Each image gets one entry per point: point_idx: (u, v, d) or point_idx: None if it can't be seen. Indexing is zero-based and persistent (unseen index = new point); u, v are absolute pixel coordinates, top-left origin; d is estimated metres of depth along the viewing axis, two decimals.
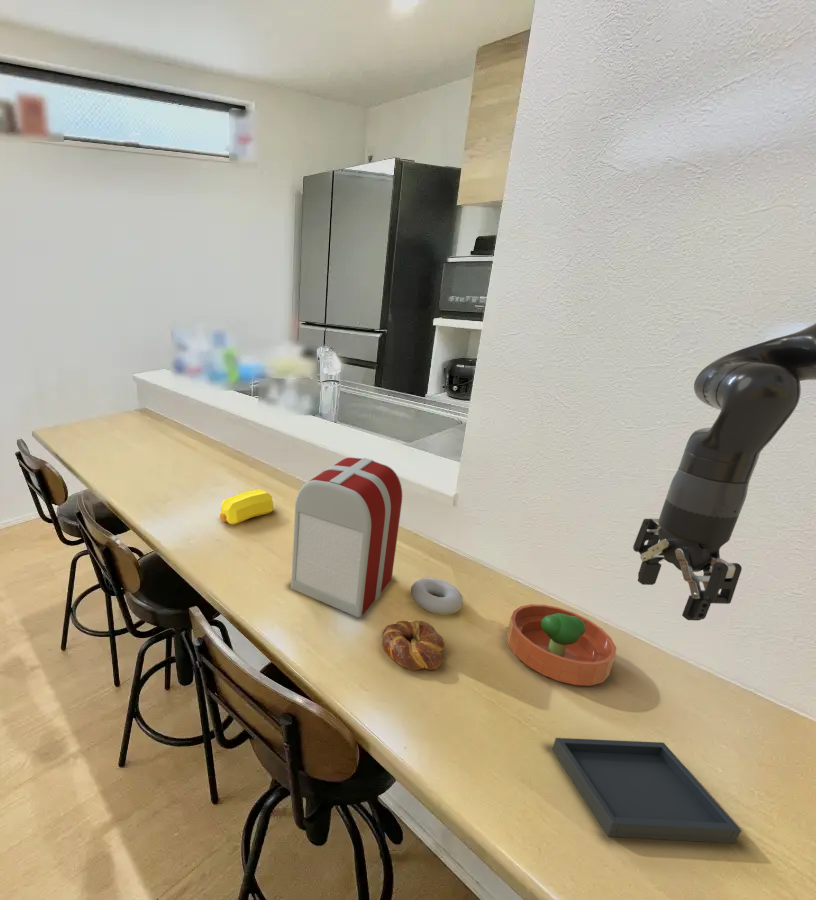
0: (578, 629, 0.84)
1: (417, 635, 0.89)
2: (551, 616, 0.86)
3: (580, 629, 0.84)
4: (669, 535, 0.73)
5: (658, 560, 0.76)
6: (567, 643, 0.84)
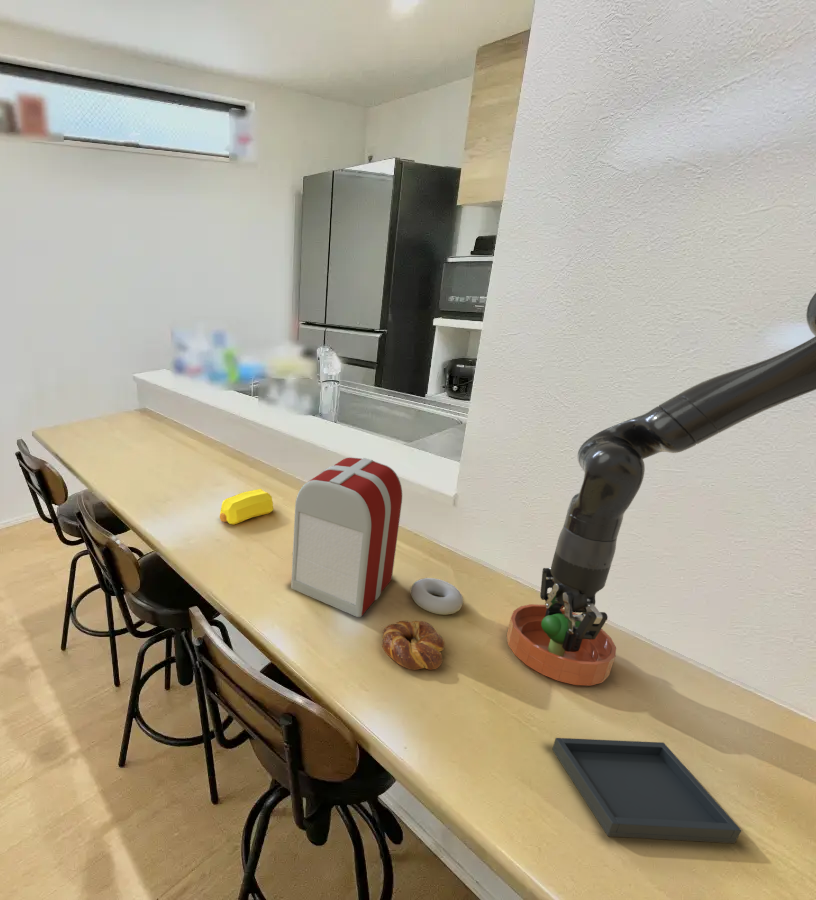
0: None
1: (417, 635, 0.89)
2: (551, 616, 0.86)
3: None
4: None
5: (559, 608, 0.88)
6: None
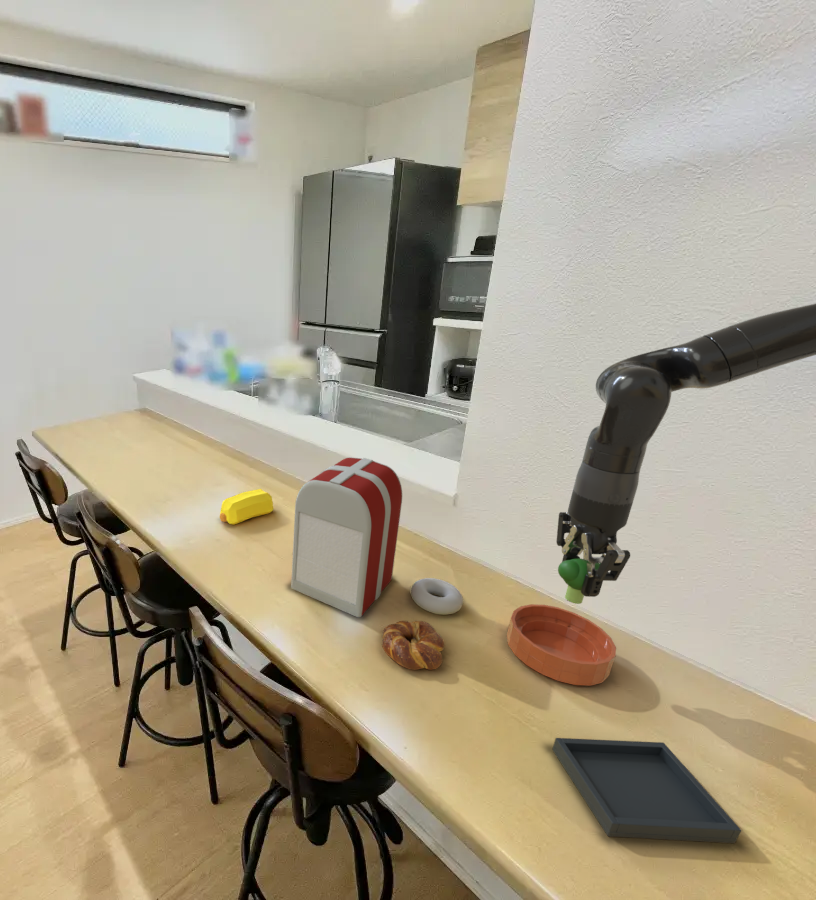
0: None
1: (417, 635, 0.89)
2: (569, 561, 0.81)
3: None
4: (578, 522, 0.80)
5: (576, 553, 0.83)
6: None
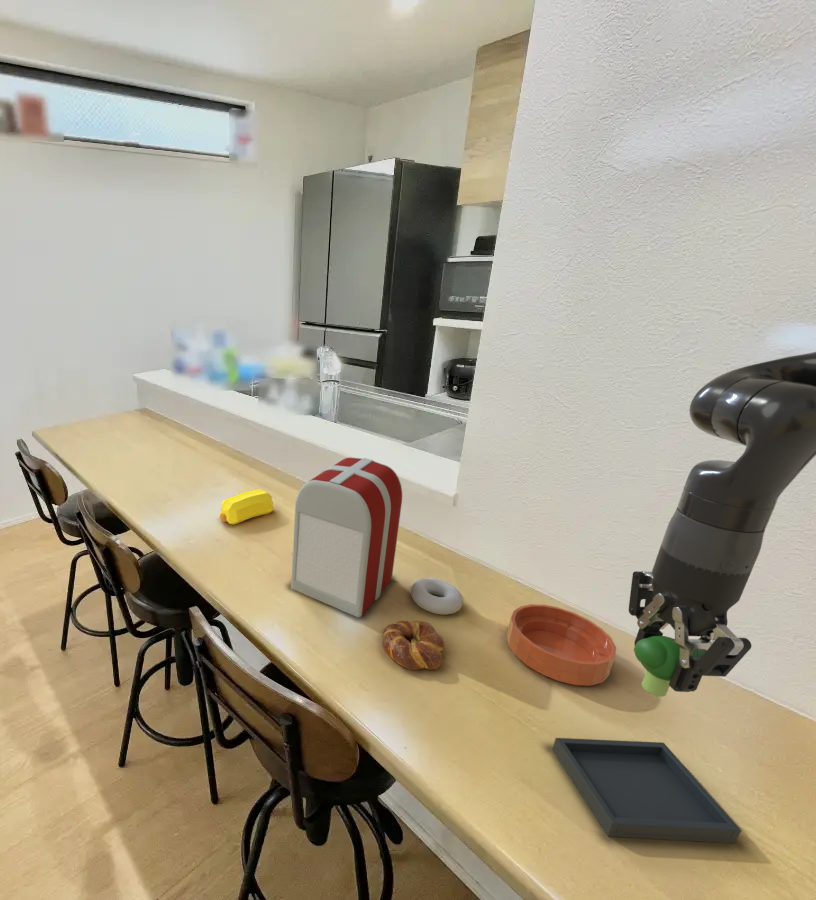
0: None
1: (417, 635, 0.89)
2: (650, 640, 0.60)
3: None
4: (665, 589, 0.60)
5: (658, 627, 0.62)
6: None
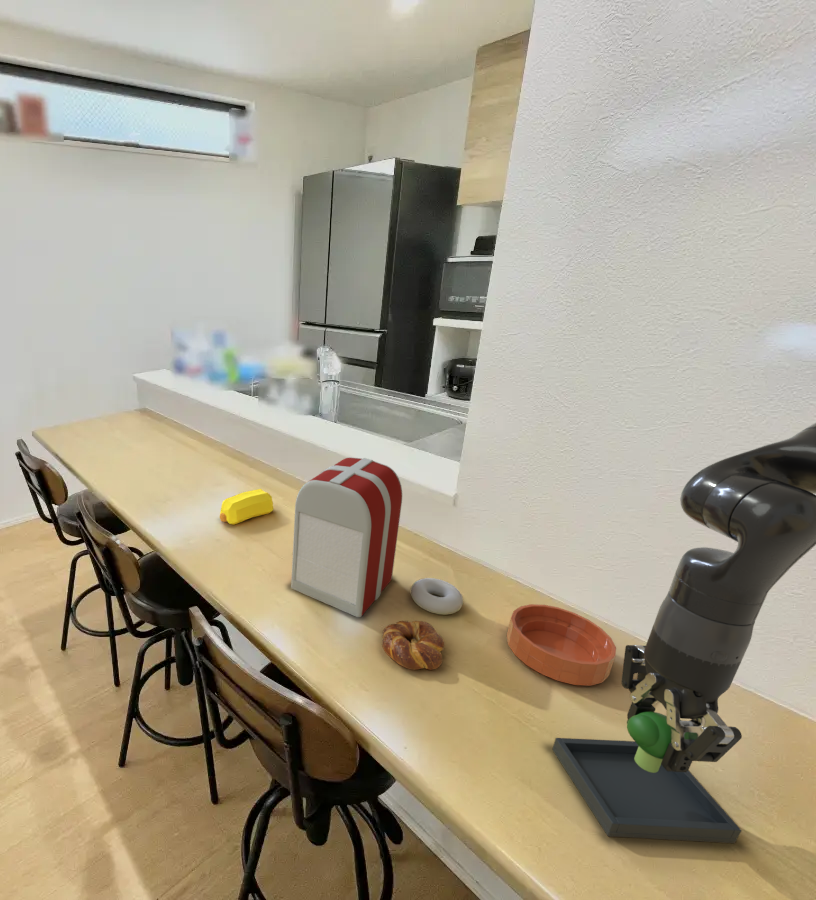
0: None
1: (417, 635, 0.89)
2: (643, 718, 0.61)
3: None
4: None
5: (651, 703, 0.63)
6: None
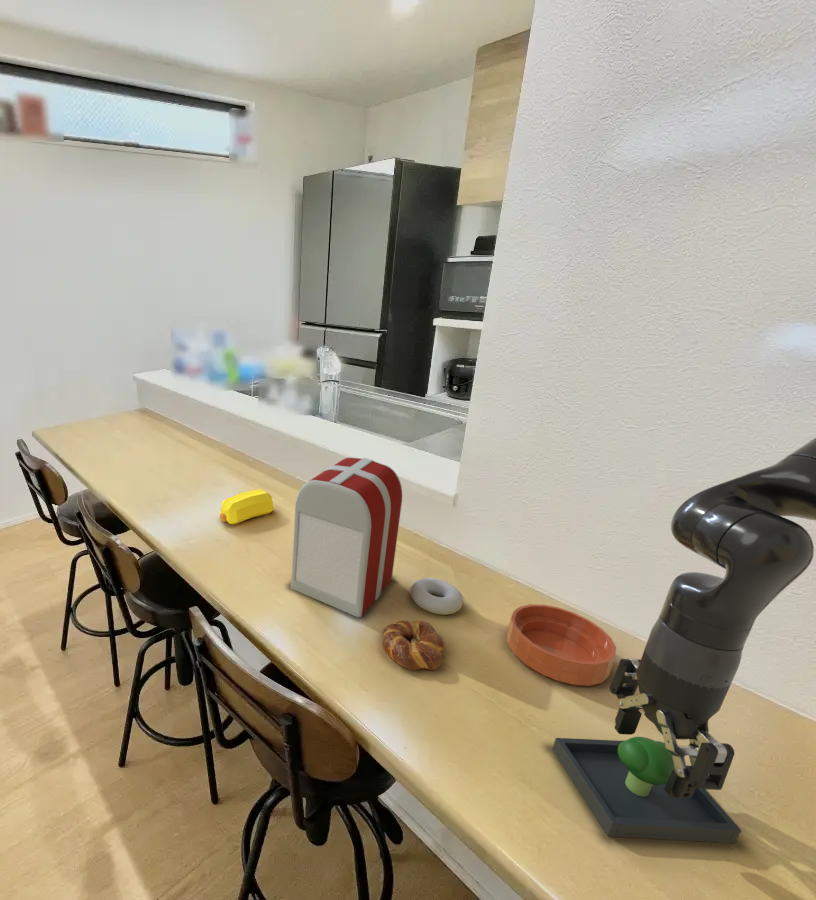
0: (672, 764, 0.61)
1: (417, 635, 0.89)
2: (633, 743, 0.62)
3: None
4: None
5: (637, 708, 0.65)
6: (657, 784, 0.61)
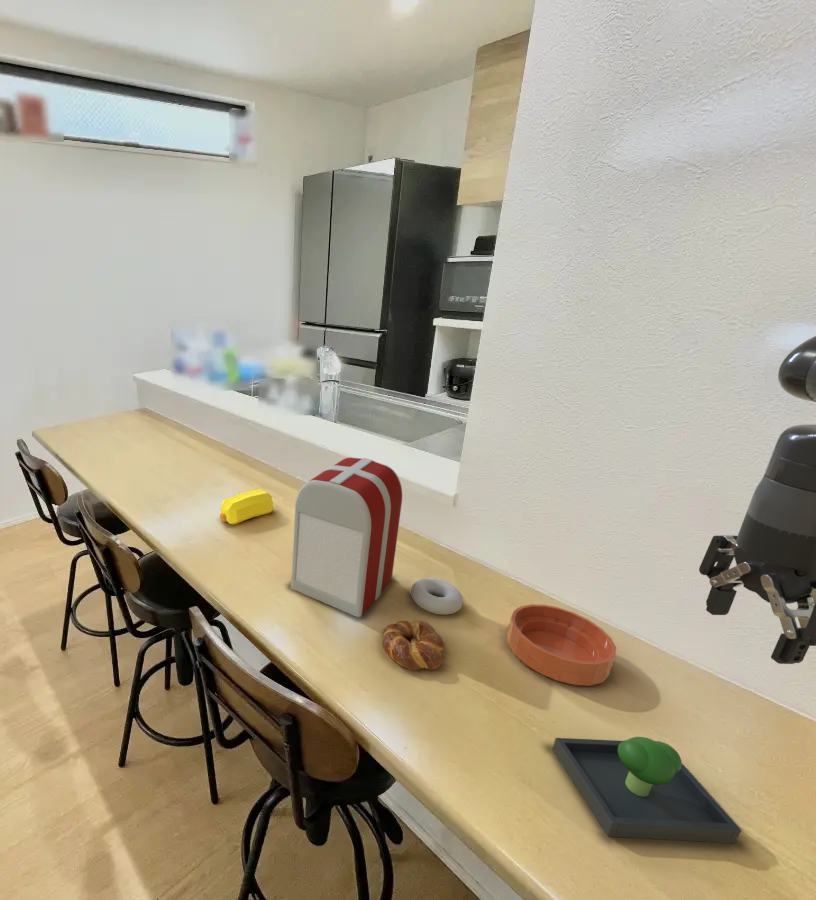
0: (672, 764, 0.61)
1: (417, 635, 0.89)
2: (633, 743, 0.62)
3: (675, 765, 0.61)
4: (750, 557, 0.59)
5: (732, 585, 0.63)
6: (657, 784, 0.61)
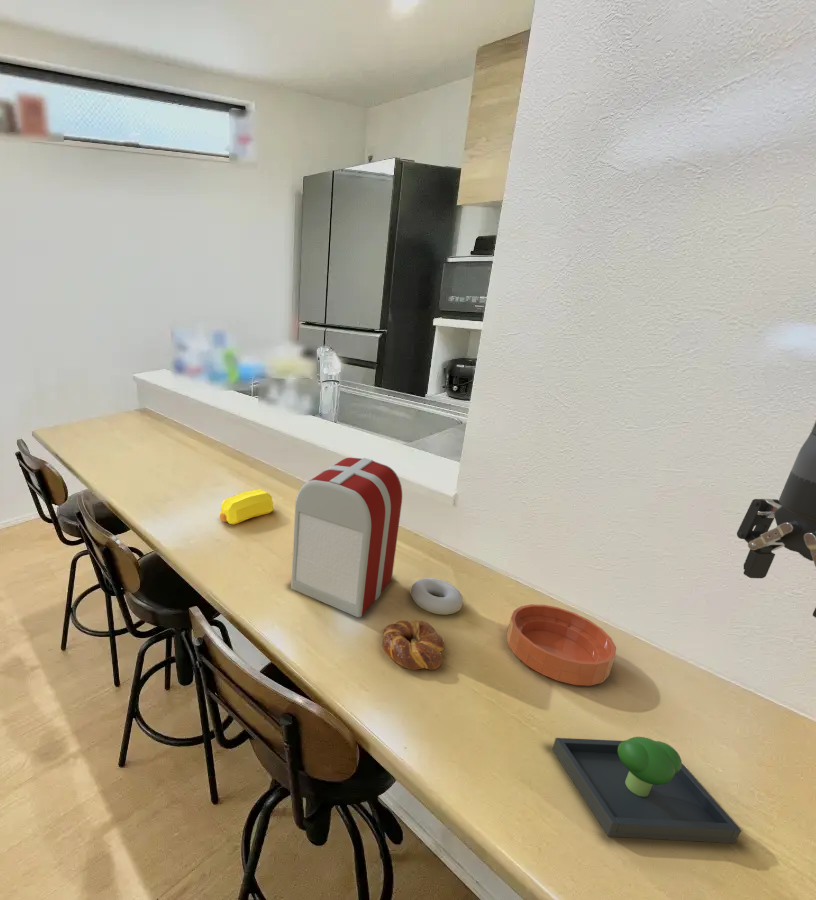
0: (672, 764, 0.61)
1: (417, 635, 0.89)
2: (633, 743, 0.62)
3: (675, 765, 0.61)
4: (792, 517, 0.60)
5: (771, 548, 0.64)
6: (657, 784, 0.61)
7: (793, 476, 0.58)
